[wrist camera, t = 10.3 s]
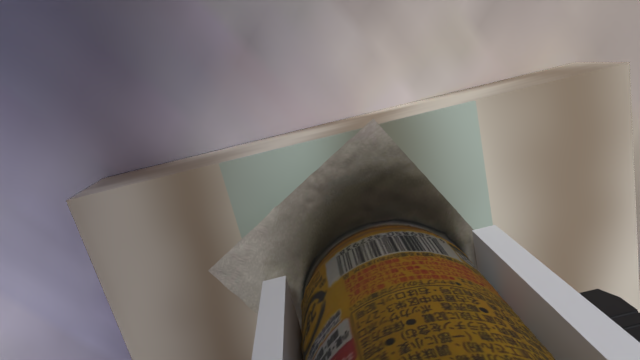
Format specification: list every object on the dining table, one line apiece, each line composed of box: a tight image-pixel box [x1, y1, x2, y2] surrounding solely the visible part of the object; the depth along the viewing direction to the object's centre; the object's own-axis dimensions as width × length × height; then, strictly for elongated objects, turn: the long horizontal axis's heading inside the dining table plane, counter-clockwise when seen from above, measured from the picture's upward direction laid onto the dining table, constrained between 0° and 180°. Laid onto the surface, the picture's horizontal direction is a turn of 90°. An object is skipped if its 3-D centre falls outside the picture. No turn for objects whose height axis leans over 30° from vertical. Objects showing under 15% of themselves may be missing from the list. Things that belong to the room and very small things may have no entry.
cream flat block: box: [66, 62, 640, 360], centre depth 17 cm, size 20×12×6 cm, turn 103°
